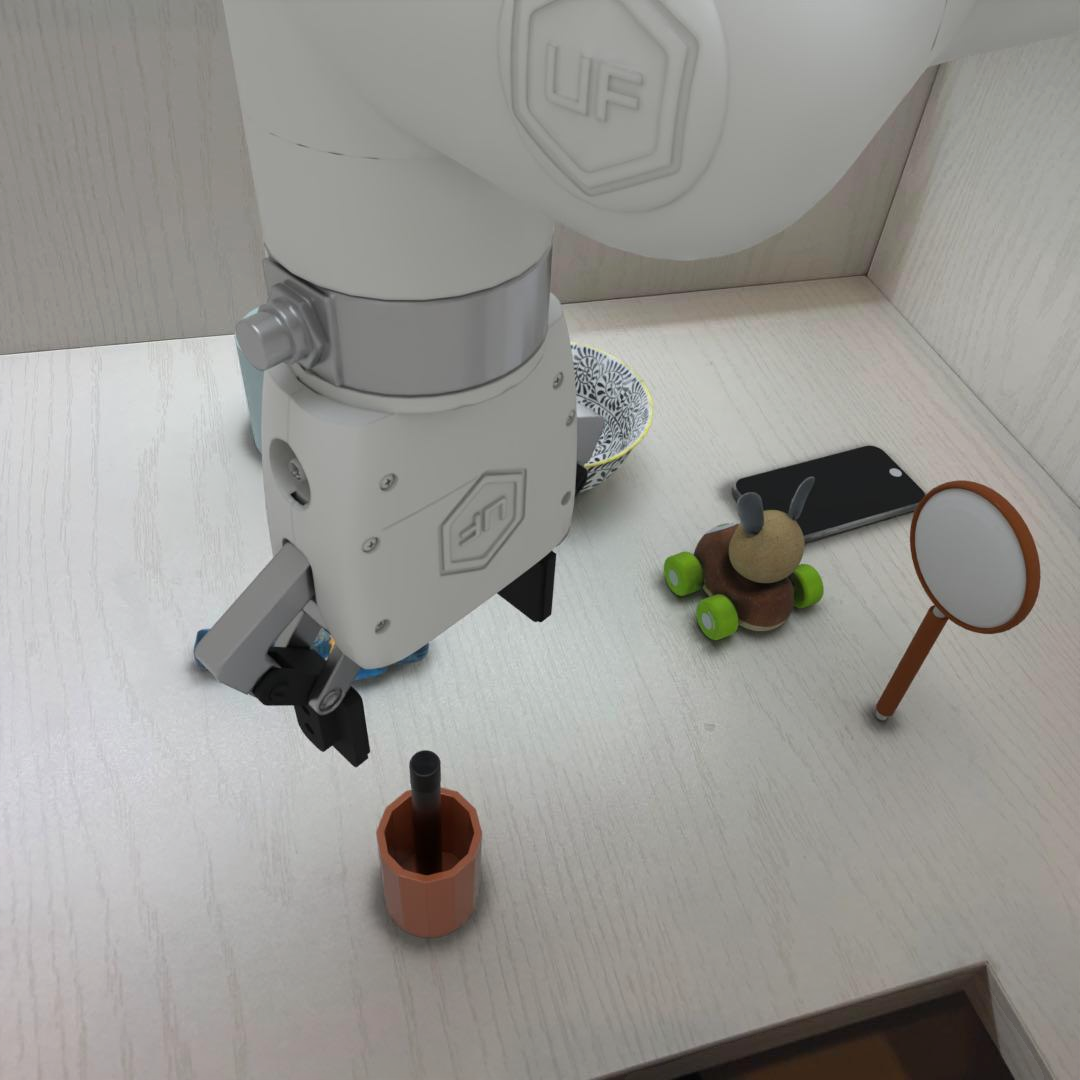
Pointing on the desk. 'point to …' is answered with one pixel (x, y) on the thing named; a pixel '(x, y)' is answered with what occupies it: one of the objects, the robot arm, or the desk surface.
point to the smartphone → (837, 490)
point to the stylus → (426, 811)
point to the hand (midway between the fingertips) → (434, 666)
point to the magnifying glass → (966, 571)
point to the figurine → (325, 646)
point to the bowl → (611, 408)
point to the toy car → (749, 569)
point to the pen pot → (438, 896)
